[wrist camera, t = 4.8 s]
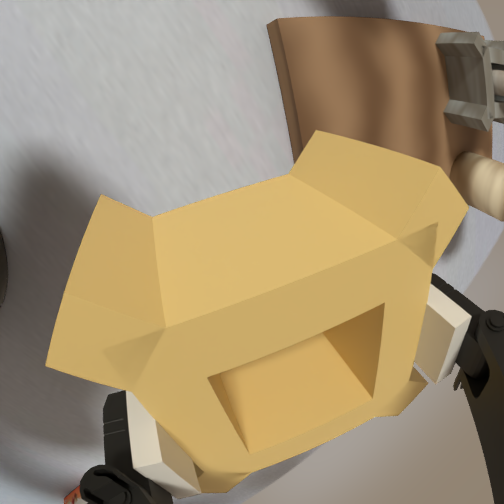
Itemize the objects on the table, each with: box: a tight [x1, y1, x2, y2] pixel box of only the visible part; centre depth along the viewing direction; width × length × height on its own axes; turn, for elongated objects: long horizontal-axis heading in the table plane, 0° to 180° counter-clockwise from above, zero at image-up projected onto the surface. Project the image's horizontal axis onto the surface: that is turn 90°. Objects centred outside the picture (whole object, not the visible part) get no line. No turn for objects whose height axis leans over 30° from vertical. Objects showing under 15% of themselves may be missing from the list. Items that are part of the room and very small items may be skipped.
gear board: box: [267, 16, 504, 221], centre depth 21 cm, size 24×18×8 cm
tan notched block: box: [45, 130, 469, 493], centre depth 11 cm, size 11×11×6 cm
